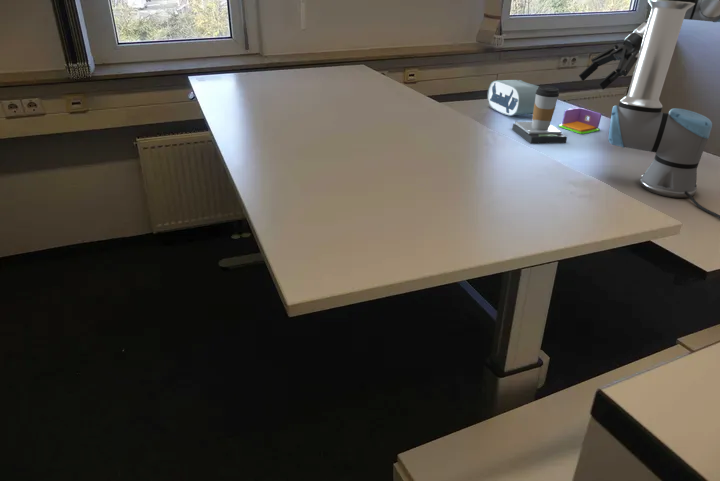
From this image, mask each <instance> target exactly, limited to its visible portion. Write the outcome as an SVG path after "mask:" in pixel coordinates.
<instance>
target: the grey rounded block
mask: <svg viewBox="0 0 720 481" xmlns="http://www.w3.org/2000/svg"><path fill="white" fill-rule="evenodd" d="M538 87H539V85H536V84H532V83H529V82H527V81H523V80H522V79H501V80H493V81H492V82H491V83H490V84H489V86H488V89H487V92H486V93H487V94H486V95H487V96H486V99H487V103H488V105H489V107H490V108H492V109H493V110H494V111H496V112H498V113H500V114H502V115H506V116H510V117H511V116H522V115H523V116H524V115H533V111H534V103H535V98H536V90H537V89H538Z"/></svg>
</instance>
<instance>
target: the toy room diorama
mask: <svg viewBox="0 0 720 481" xmlns="http://www.w3.org/2000/svg"><path fill="white" fill-rule="evenodd" d="M601 119H602V113H600V112H597V111H593V110H591V109H590V110H589V109H588V108H583V107H575V108H569V109H565V110H564V112H563V117H562V121H561V124H560V123H559V124H558V127H559V128H561V129H565V130H568V131H571V132H573V133H576V134H579V135H585V134H590V133H595V132H599V131H600V128H599V126H600V122H601Z"/></svg>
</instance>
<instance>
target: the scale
mask: <svg viewBox="0 0 720 481" xmlns="http://www.w3.org/2000/svg"><path fill="white" fill-rule="evenodd" d="M511 130H512V131H514V132H515V133H516V134H518V135H519V136H520V137H522V138H523V139H524V140H525V141H527V142H528V143H529V144H533V145H537V144H566V143H567V139H568V136H567V135H565V134H564V133H563V131H561V130H560V129H558V128H557V127H555V126H554V125H552V124H550V126H549V128H548V129H547V130H537V129H534V128H532V121H515V122H514V123H513V124H512V129H511Z"/></svg>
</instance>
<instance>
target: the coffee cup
mask: <svg viewBox="0 0 720 481" xmlns="http://www.w3.org/2000/svg"><path fill="white" fill-rule="evenodd" d="M538 86H539V85H538ZM559 96H560V92H559V88H558V87H556V86H550V85H540V86H539V87H538V89H537V90H536V98H535V103H534V111H533V114H532V118H531V119H532V120H531V122H532V128H534V129H537V130H547V129H548V128H549V126H550V125H551V122H552V119H553V116H554V113H555V109H556V107H557V106H556V105H557V101H558V98H559Z"/></svg>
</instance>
